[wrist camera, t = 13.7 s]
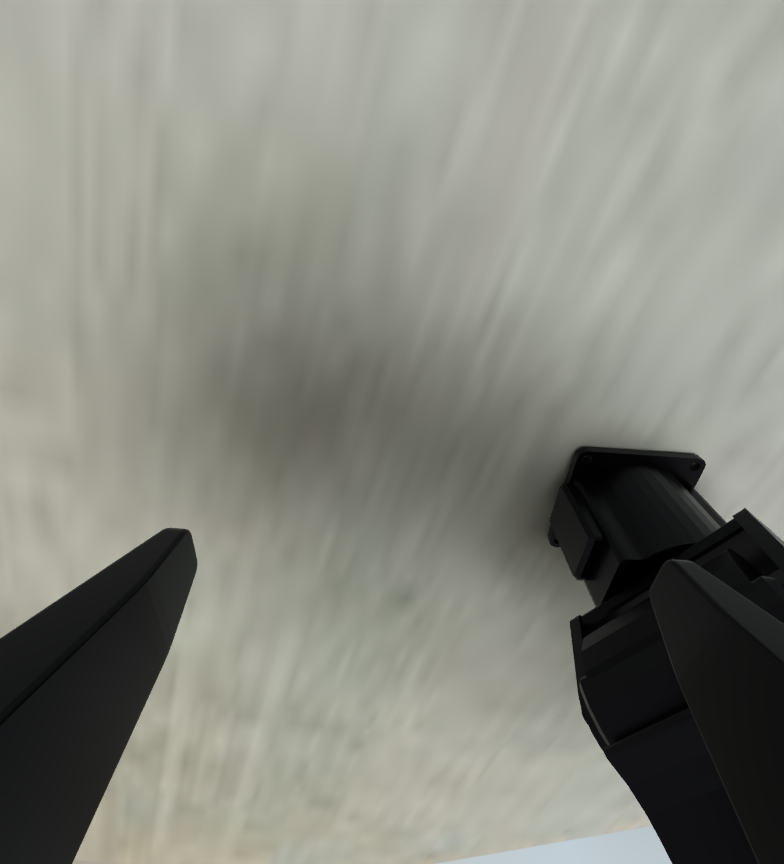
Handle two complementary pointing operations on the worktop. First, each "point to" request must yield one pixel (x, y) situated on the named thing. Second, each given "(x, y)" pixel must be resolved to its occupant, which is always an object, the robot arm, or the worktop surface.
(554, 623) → the worktop surface
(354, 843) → the worktop surface
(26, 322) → the worktop surface
